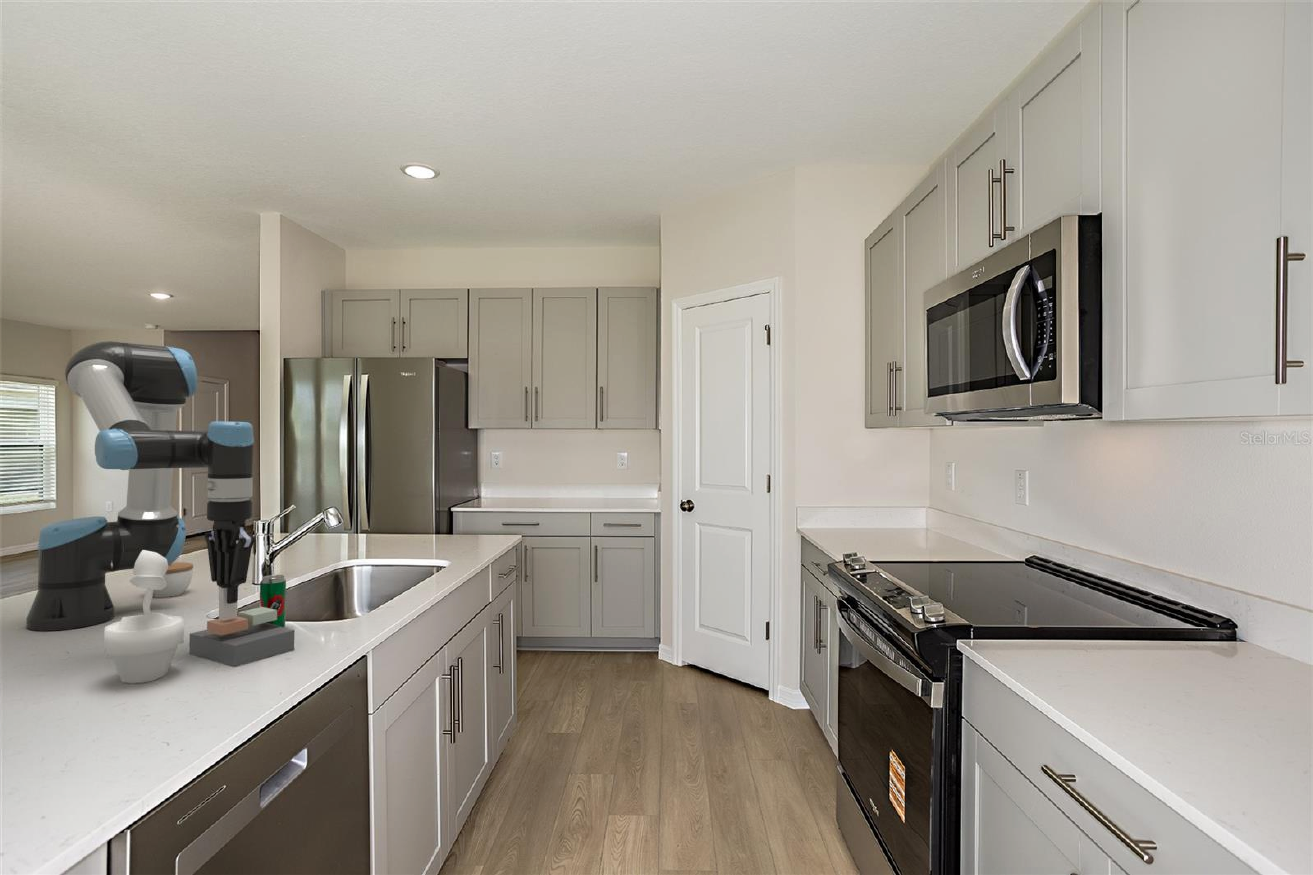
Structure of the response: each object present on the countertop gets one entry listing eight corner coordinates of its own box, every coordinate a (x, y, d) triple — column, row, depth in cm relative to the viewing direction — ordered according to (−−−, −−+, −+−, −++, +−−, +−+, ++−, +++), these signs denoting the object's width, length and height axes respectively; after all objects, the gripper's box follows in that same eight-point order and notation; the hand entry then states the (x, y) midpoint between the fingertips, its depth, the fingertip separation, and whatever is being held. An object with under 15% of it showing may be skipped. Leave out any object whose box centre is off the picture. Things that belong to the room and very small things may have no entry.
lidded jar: (202, 592, 184) (202, 558, 184) (161, 601, 174) (161, 565, 174) (175, 588, 188) (175, 555, 188) (133, 597, 178) (134, 561, 178)
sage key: (238, 621, 137) (238, 612, 137) (262, 616, 142) (262, 606, 142) (252, 625, 135) (253, 615, 135) (276, 619, 139) (277, 610, 139)
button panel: (189, 653, 134) (189, 632, 134) (249, 638, 144) (249, 618, 144) (234, 666, 127) (234, 644, 127) (294, 649, 137) (294, 629, 137)
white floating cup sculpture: (113, 671, 123) (116, 535, 123) (190, 663, 128) (192, 532, 128) (89, 696, 112) (91, 545, 112) (173, 687, 116) (176, 542, 116)
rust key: (206, 631, 132) (207, 621, 132) (232, 625, 136) (233, 615, 136) (221, 635, 130) (222, 625, 130) (247, 629, 134) (248, 619, 134)
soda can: (290, 627, 153) (291, 574, 153) (275, 634, 148) (276, 579, 148) (269, 626, 153) (270, 573, 153) (253, 633, 148) (254, 578, 148)
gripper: (190, 499, 133) (188, 618, 133) (230, 503, 127) (228, 628, 127) (229, 496, 139) (227, 610, 139) (269, 500, 133) (267, 619, 133)
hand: (228, 618), depth 133 cm, fingers closed
